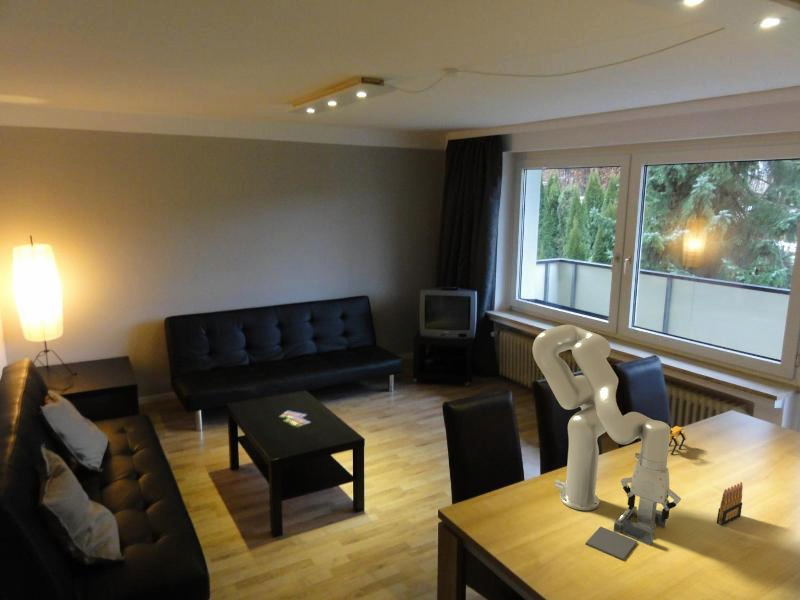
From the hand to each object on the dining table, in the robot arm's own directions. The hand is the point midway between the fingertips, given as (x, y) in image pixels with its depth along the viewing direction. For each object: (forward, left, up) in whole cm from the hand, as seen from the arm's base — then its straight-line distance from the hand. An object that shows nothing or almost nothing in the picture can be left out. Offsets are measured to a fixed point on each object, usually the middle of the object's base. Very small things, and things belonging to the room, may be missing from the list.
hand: (647, 513), depth 175 cm
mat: (-5, -14, -5) cm, 16 cm away
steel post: (0, 0, -6) cm, 6 cm away
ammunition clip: (+18, +24, -6) cm, 30 cm away
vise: (-2, 0, -5) cm, 6 cm away
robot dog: (-11, +62, -6) cm, 63 cm away
